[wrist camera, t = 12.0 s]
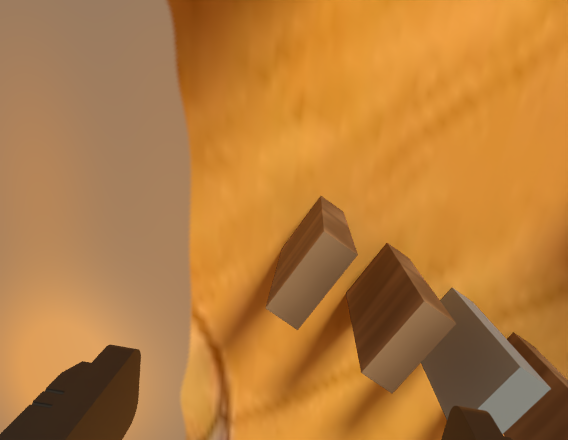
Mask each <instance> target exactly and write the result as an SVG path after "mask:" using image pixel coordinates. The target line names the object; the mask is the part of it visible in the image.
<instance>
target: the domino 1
mask: <svg viewBox="0 0 568 440" xmlns="http://www.w3.org/2000/svg"><path fill="white" fill-rule="evenodd" d="M357 255H358V254H357V251H356V248H355V245H354V242H353V239H352V236H351V233H350V230H349V227H348V224H347V221H346V219H345V216H344V213H343V211H341V210H340V209H339V208H337V207H336V206H334V205H333V204H332V203H330V202H329V201H327V200H326V199H325V198H323V197H322V196H321V197H320V198H319V199H318V201H317V202H316V203H315V205H314V206H313V207H312V209H311V210H310V211H309V213H308V214H307V216H306V217H305V218H304V220H303V221H302V222H301V224H300V225H299V226H298V228H297V229H296V230H295V232H294V233H293V235H292V236H291V237H290V239H289V240H288V241H287V243H286V244H285V245H284V247H283V248H282V250H281V254H280V257H279V261H278V265H277V268H276V272H275V276H274V279H273V283H272V287H271V290H270V294H269V297H268V301H267V305H266V309H267V310H269V311H270V312H272V313H273V314H275V315H276V316H278V317H279V318H281V319H282V320H284V321H285V322H287V323H288V324H289V325H291V326H292V327H294V328H295V329H297V330H298V329H299V328H300V327H301V325H302V324H303V323H304V322H305V320H306V319H307V318H308V317H309V315H310V314H311V313H312V312H313V310H314V309H315V308H316V306H317V305H318V304H319V303H320V301H321V300H322V299H323V298H324V296H325V295H326V294H327V293H328V291H329V290H330V289H331V288H332V286H333V285H334V284H335V283H336V281H337V280H338V279H339V278H340V276H341V275H342V274H343V273H344V271H345V270H346V269H347V268H348V266H349V265H350V264H351V263H352V261H353V260H354V259H355V258H356V256H357Z"/></svg>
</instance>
